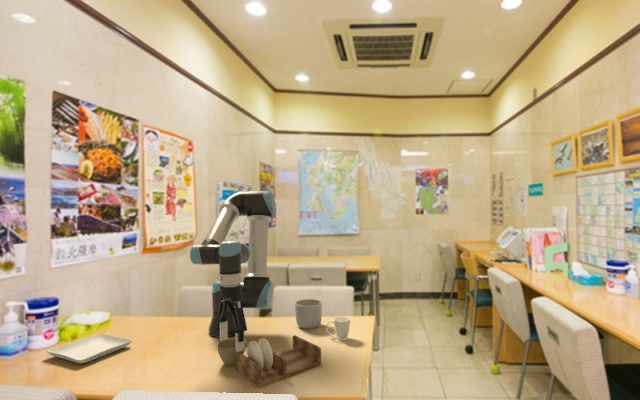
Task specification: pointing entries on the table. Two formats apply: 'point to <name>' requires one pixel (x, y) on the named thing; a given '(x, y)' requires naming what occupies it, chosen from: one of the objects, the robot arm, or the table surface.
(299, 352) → the rack
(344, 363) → the table surface
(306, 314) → the planter
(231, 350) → the flower pot
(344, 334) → the cup
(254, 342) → the plates
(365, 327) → the table surface
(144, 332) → the table surface
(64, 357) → the salad plate
